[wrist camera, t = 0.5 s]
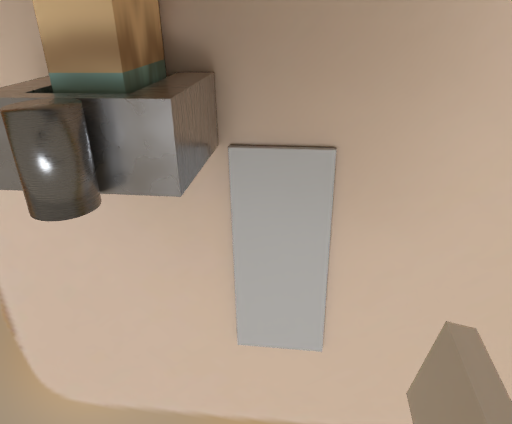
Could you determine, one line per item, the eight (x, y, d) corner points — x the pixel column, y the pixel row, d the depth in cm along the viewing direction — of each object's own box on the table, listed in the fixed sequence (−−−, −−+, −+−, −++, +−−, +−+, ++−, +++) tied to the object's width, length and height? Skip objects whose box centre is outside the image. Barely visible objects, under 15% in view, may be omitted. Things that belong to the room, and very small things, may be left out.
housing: (62, 72, 35) (-98, 111, 21) (213, 72, 33) (143, 115, 20) (76, 142, 37) (-58, 215, 24) (218, 145, 36) (158, 226, 22)
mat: (229, 145, 36) (228, 147, 35) (335, 147, 34) (336, 149, 34) (238, 340, 45) (237, 344, 45) (322, 347, 44) (322, 351, 43)
